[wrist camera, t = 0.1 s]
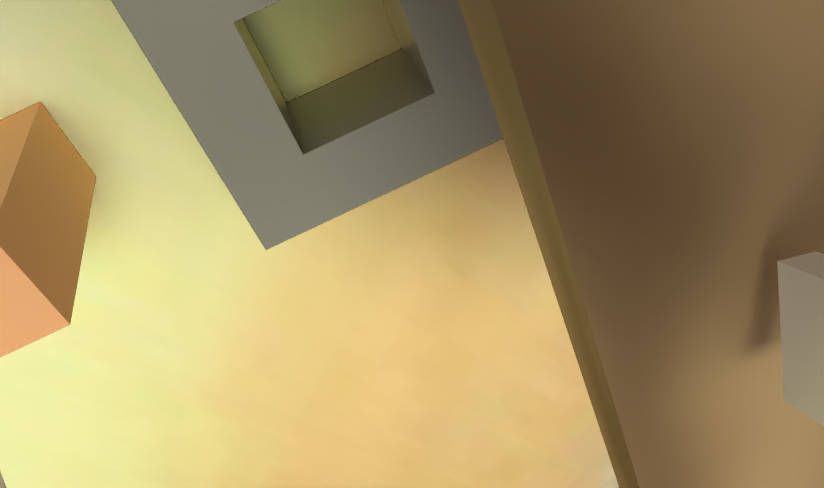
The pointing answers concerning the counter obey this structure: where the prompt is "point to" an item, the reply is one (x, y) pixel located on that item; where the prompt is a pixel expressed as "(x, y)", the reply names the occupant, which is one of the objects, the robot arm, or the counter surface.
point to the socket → (317, 108)
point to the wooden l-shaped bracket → (671, 215)
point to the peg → (39, 226)
